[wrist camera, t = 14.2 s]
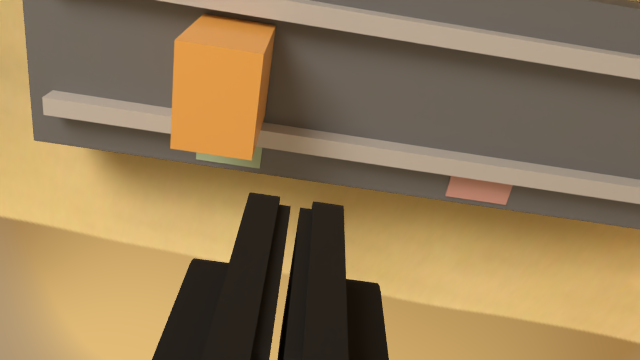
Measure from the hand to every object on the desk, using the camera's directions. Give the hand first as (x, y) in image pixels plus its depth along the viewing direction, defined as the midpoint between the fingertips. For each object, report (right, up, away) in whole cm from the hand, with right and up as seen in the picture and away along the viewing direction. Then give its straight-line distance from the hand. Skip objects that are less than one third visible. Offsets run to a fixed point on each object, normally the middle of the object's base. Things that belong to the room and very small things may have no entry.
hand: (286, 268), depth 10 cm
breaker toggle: (-3, +7, +14) cm, 15 cm away
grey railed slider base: (+3, +7, +18) cm, 20 cm away
